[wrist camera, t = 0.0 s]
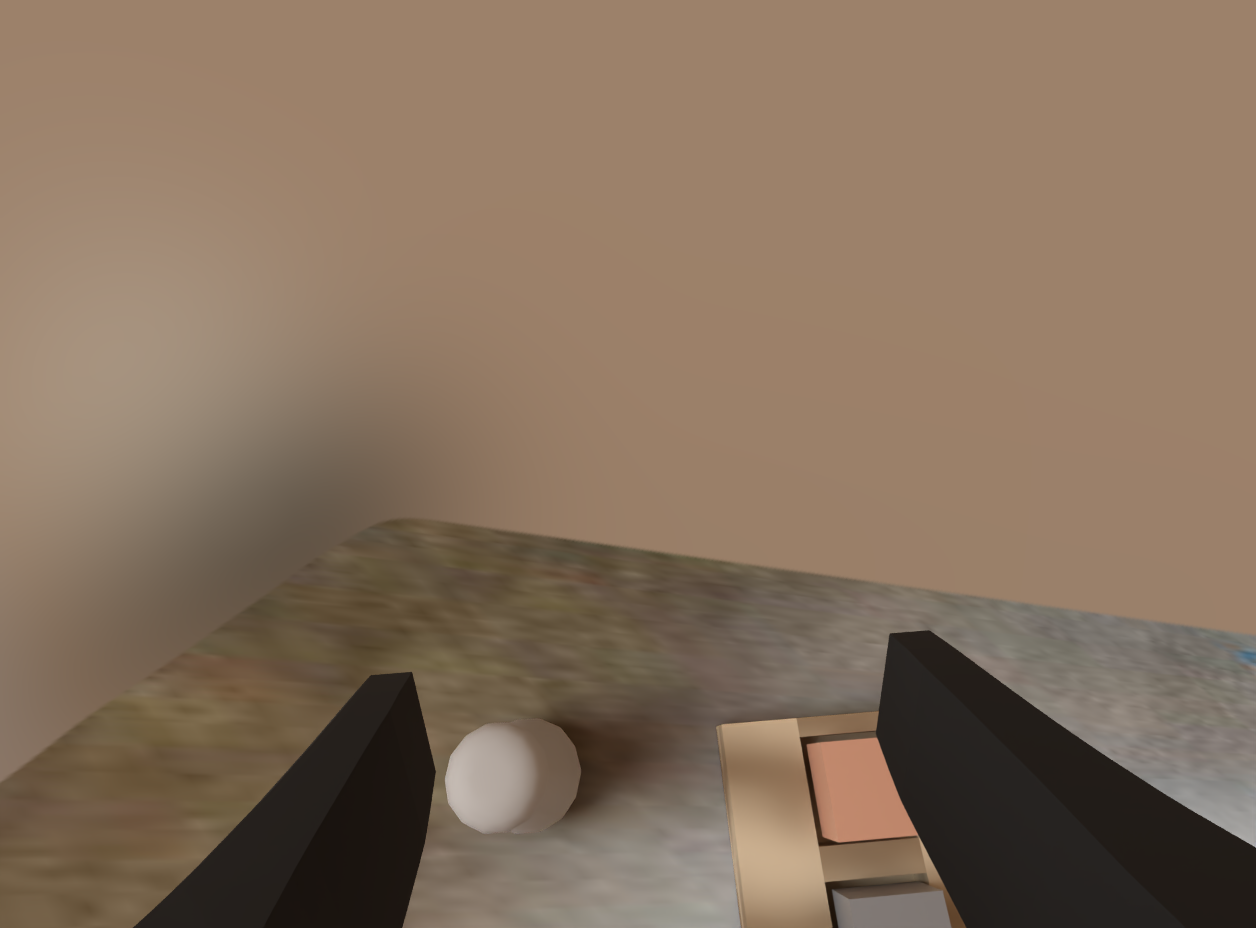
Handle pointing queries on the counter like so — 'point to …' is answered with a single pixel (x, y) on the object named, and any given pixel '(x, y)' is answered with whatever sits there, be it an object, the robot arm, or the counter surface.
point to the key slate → (891, 906)
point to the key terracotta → (856, 792)
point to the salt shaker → (513, 777)
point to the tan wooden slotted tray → (801, 827)
